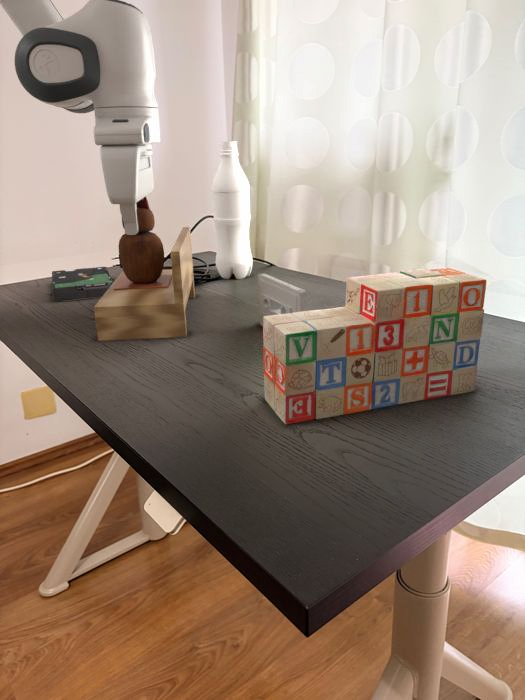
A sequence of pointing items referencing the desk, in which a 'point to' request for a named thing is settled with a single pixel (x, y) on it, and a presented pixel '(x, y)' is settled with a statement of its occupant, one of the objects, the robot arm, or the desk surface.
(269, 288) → the cassette
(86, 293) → the disk drive
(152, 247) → the wooden figurine
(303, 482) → the desk surface
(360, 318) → the stack of blocks
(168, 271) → the wooden bookend
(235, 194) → the water bottle
